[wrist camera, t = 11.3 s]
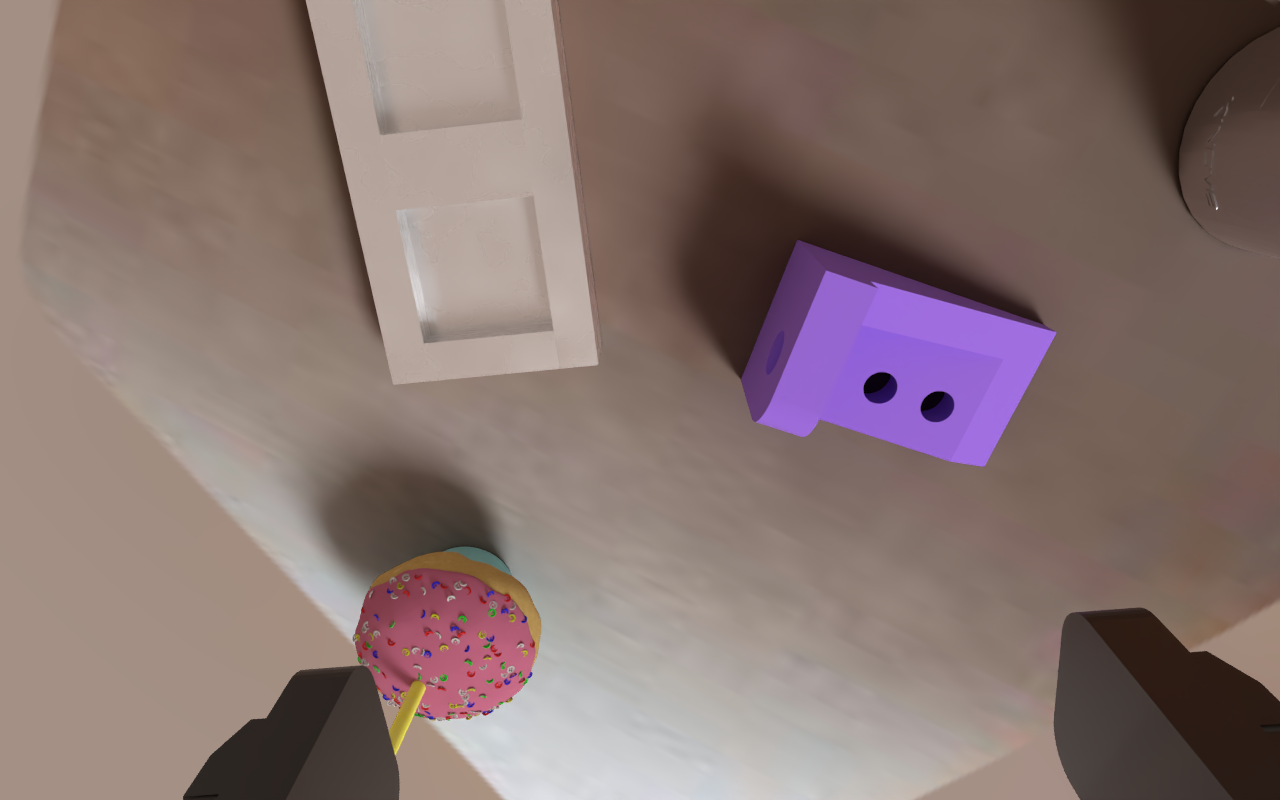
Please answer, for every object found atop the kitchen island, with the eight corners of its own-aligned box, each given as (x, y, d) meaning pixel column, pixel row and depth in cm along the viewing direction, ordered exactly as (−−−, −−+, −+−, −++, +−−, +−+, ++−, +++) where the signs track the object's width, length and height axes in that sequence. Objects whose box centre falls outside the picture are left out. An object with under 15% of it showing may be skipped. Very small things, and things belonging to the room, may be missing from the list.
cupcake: (482, 677, 44) (424, 877, 33) (353, 588, 42) (244, 768, 31) (583, 577, 42) (558, 755, 31) (451, 477, 40) (372, 629, 29)
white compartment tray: (510, -369, 28) (496, -414, 26) (602, 346, 37) (598, 364, 35) (253, -331, 29) (215, -371, 26) (406, 365, 38) (388, 385, 35)
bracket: (740, 377, 38) (756, 434, 32) (796, 238, 36) (825, 270, 29) (972, 452, 39) (1033, 523, 33) (1041, 323, 37) (1121, 371, 31)
